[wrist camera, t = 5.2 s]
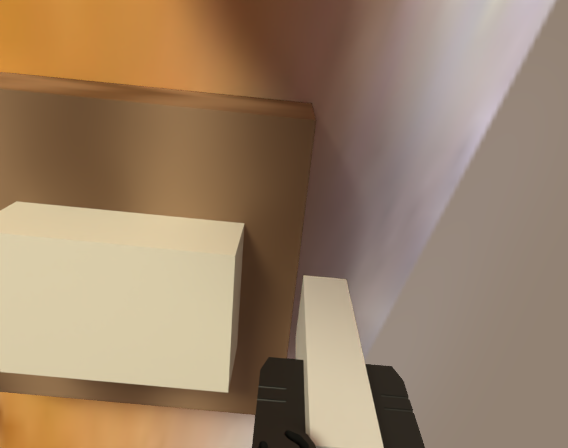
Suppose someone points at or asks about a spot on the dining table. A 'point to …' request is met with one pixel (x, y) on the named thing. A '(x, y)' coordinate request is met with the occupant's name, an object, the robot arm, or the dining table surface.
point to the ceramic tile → (119, 296)
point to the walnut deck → (169, 197)
